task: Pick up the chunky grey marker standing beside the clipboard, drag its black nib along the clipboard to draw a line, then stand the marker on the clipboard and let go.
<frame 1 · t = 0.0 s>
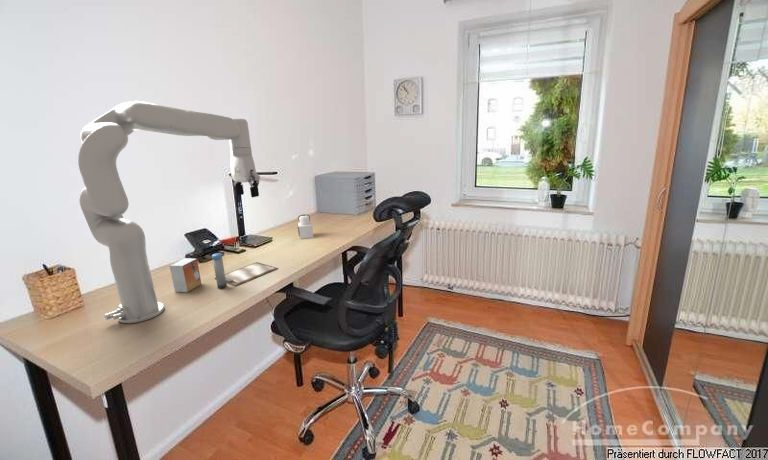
hand: (247, 195, 146), 31 cm above the table, tool pointing down, fingers open, 9 cm apart
small box: (188, 288, 138), on the table
medicine bottle: (306, 237, 197), on the table
marker: (222, 287, 137), on the table
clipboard: (247, 273, 149), on the table
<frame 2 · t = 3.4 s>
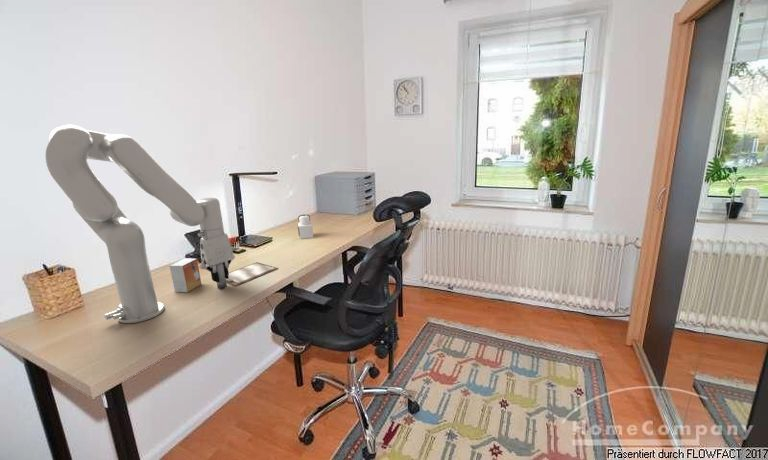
hand: (220, 279, 136), 3 cm above the table, tool pointing down, fingers closed on marker, 3 cm apart
marker: (222, 287, 137), on the table, touching gripper
everything else where it was.
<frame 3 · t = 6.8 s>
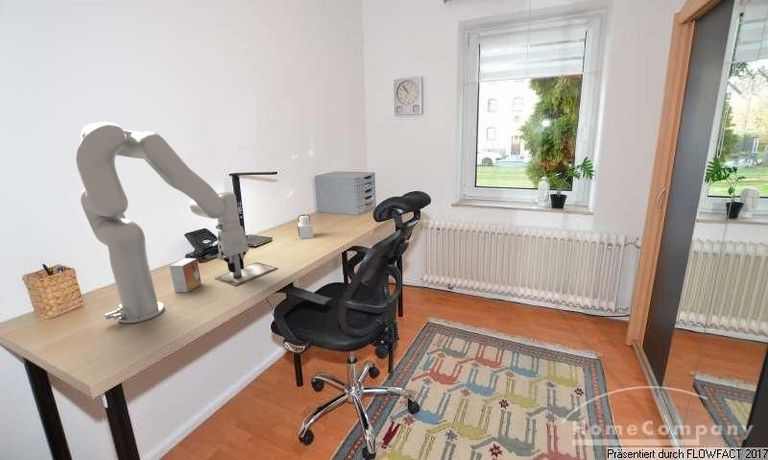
hand: (236, 269, 144), 4 cm above the table, tool pointing down, fingers closed on marker, 3 cm apart
marker: (237, 277, 145), resting on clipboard, touching gripper
everything else where it was.
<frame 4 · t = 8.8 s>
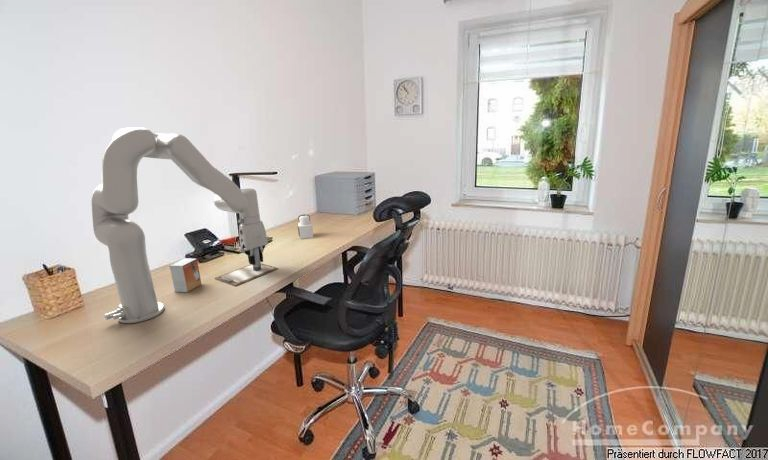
hand: (256, 262, 151), 4 cm above the table, tool pointing down, fingers closed on marker, 3 cm apart
marker: (257, 269, 152), point 1 cm above the table, touching gripper
everything else where it was.
when the fingers open (5 cm above the table, at t = 10.3 s): marker drops 1 cm, resting on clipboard.
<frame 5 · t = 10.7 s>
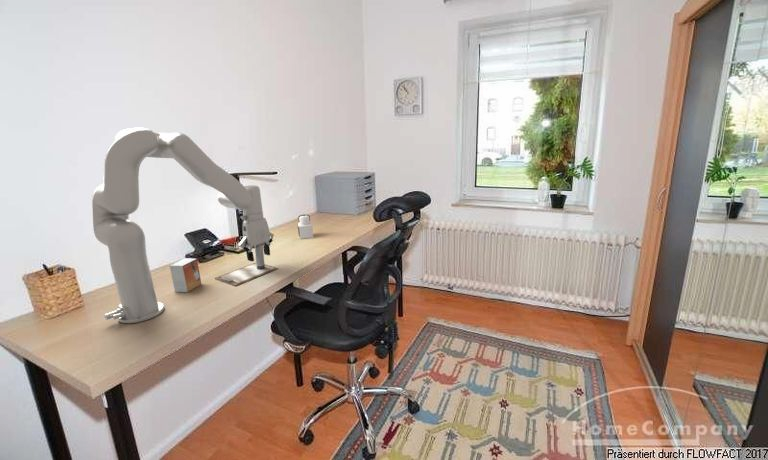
hand: (259, 257, 152), 5 cm above the table, tool pointing down, fingers open, 7 cm apart
marker: (260, 268, 153), point 1 cm above the table, touching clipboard
everything else where it was.
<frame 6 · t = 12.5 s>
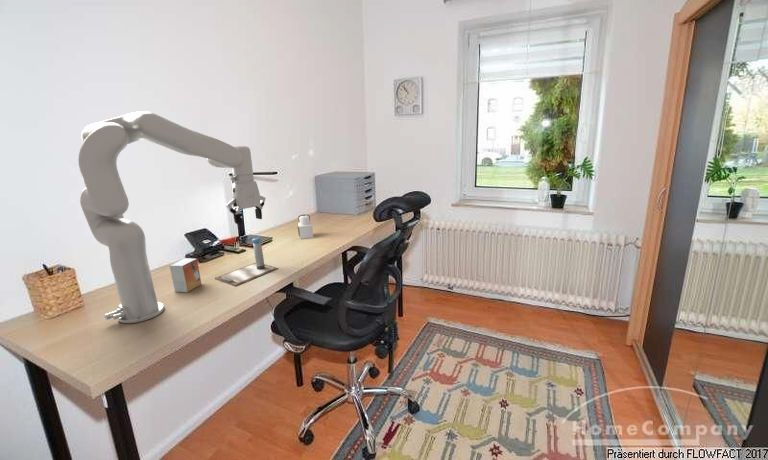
hand: (248, 221, 147), 21 cm above the table, tool pointing down, fingers open, 9 cm apart
nothing on the table moved.
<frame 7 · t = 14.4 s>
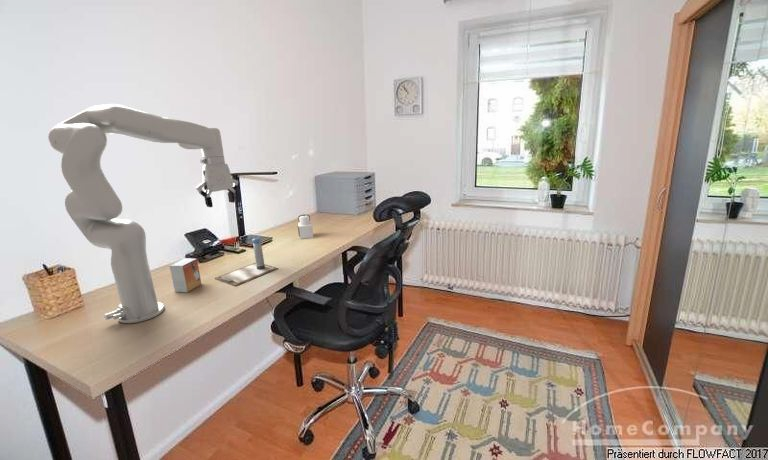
hand: (221, 204, 146), 28 cm above the table, tool pointing down, fingers open, 9 cm apart
nothing on the table moved.
at the end: marker inside the target area (5.1 cm from its centre), point 0.5 cm above the table; marker tilted 1°; the gripper is holding nothing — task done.
